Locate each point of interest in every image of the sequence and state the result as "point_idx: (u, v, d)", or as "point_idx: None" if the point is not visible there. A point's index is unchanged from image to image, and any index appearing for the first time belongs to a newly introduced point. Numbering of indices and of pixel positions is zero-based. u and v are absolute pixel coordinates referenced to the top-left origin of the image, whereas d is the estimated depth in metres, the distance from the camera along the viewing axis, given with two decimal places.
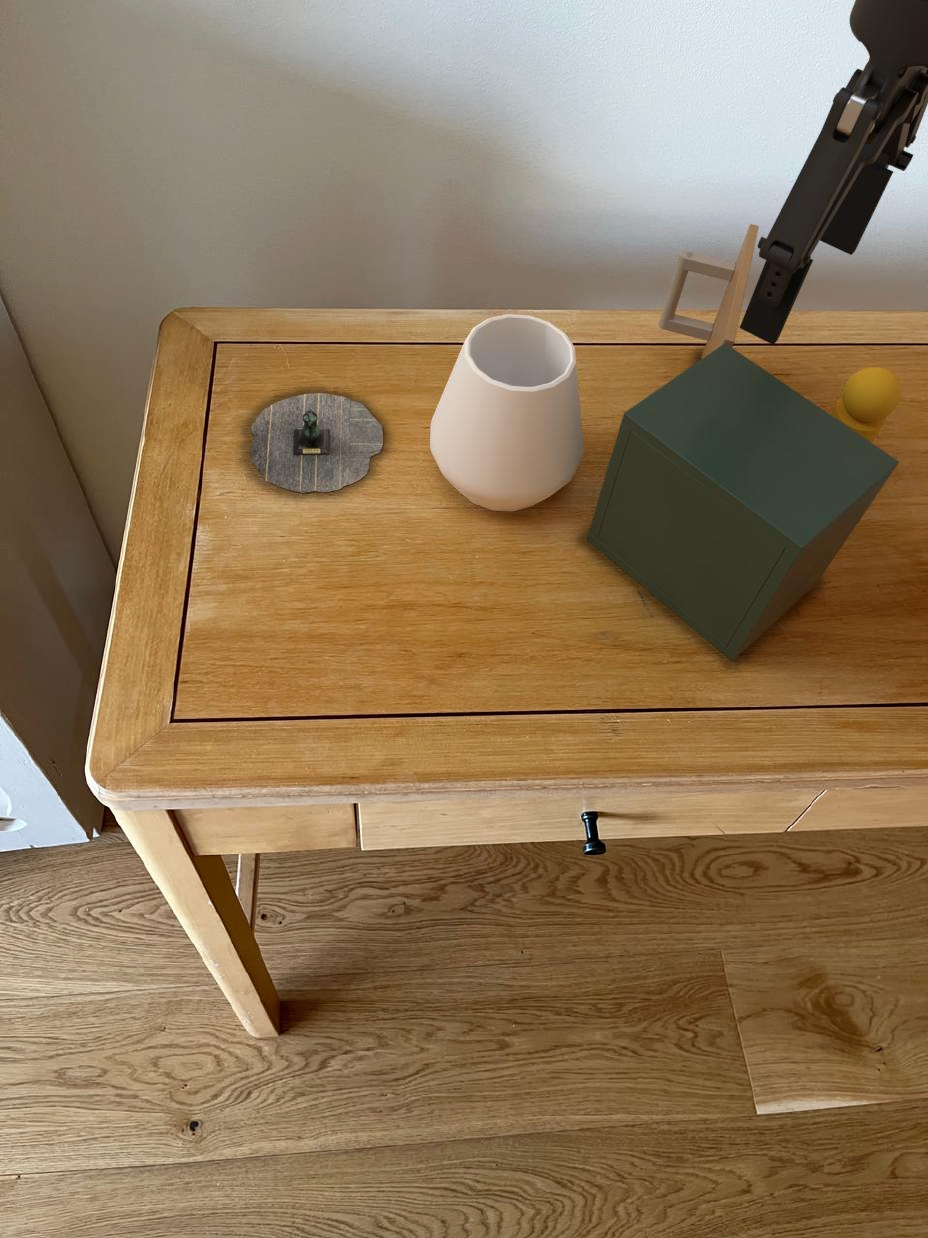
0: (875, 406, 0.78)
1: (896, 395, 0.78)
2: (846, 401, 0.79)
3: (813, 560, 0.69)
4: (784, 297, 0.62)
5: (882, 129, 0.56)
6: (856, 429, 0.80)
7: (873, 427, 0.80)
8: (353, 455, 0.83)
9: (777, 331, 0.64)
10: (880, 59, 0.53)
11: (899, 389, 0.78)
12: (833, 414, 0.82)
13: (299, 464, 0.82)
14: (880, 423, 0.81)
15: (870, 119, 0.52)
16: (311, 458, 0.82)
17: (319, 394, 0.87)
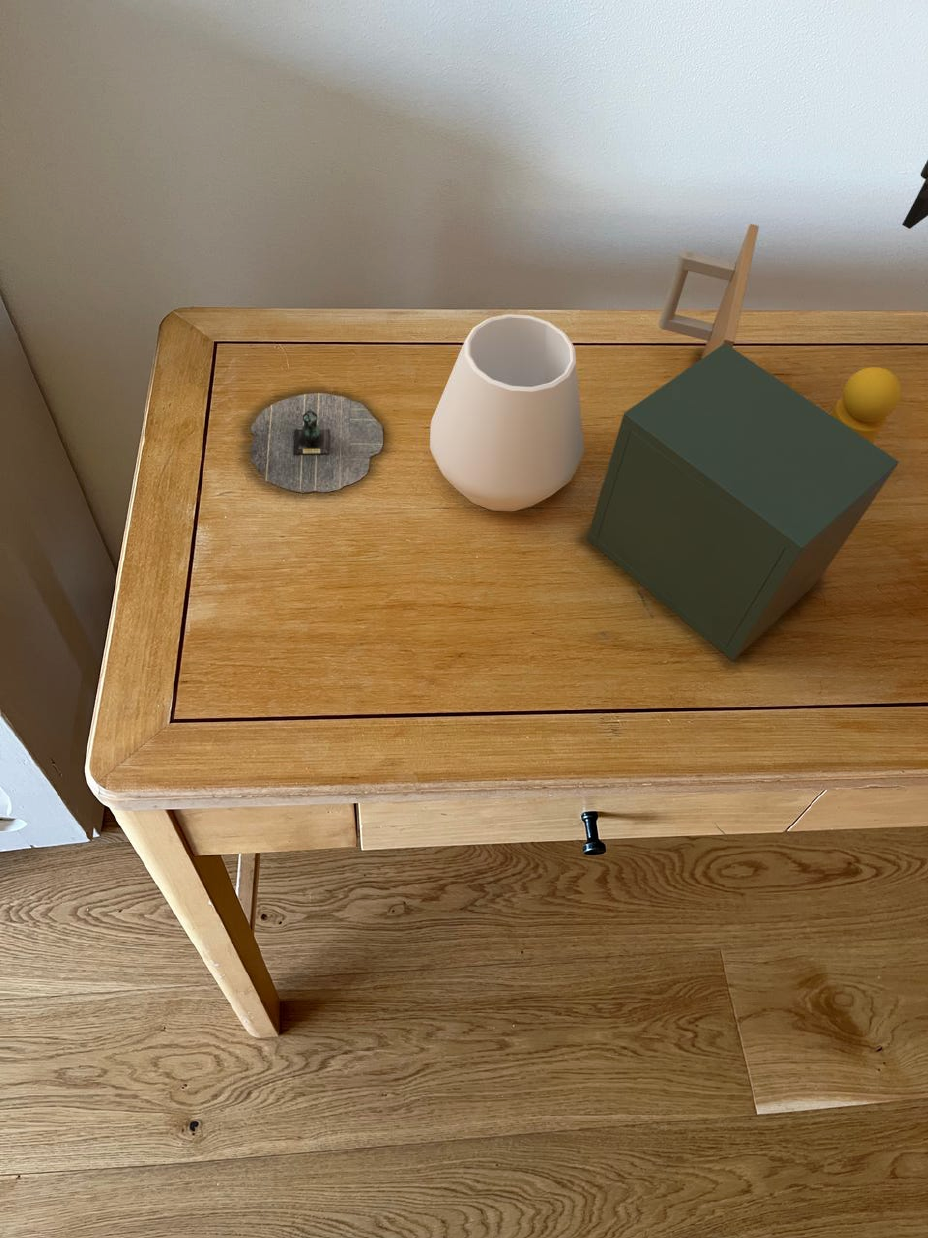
0: (875, 406, 0.78)
1: (896, 395, 0.78)
2: (846, 401, 0.79)
3: (813, 560, 0.69)
4: None
5: None
6: (856, 429, 0.80)
7: (873, 427, 0.80)
8: (353, 455, 0.83)
9: (923, 191, 0.77)
10: None
11: (899, 389, 0.78)
12: (833, 414, 0.82)
13: (299, 464, 0.82)
14: (880, 423, 0.81)
15: None
16: (311, 458, 0.82)
17: (319, 394, 0.87)
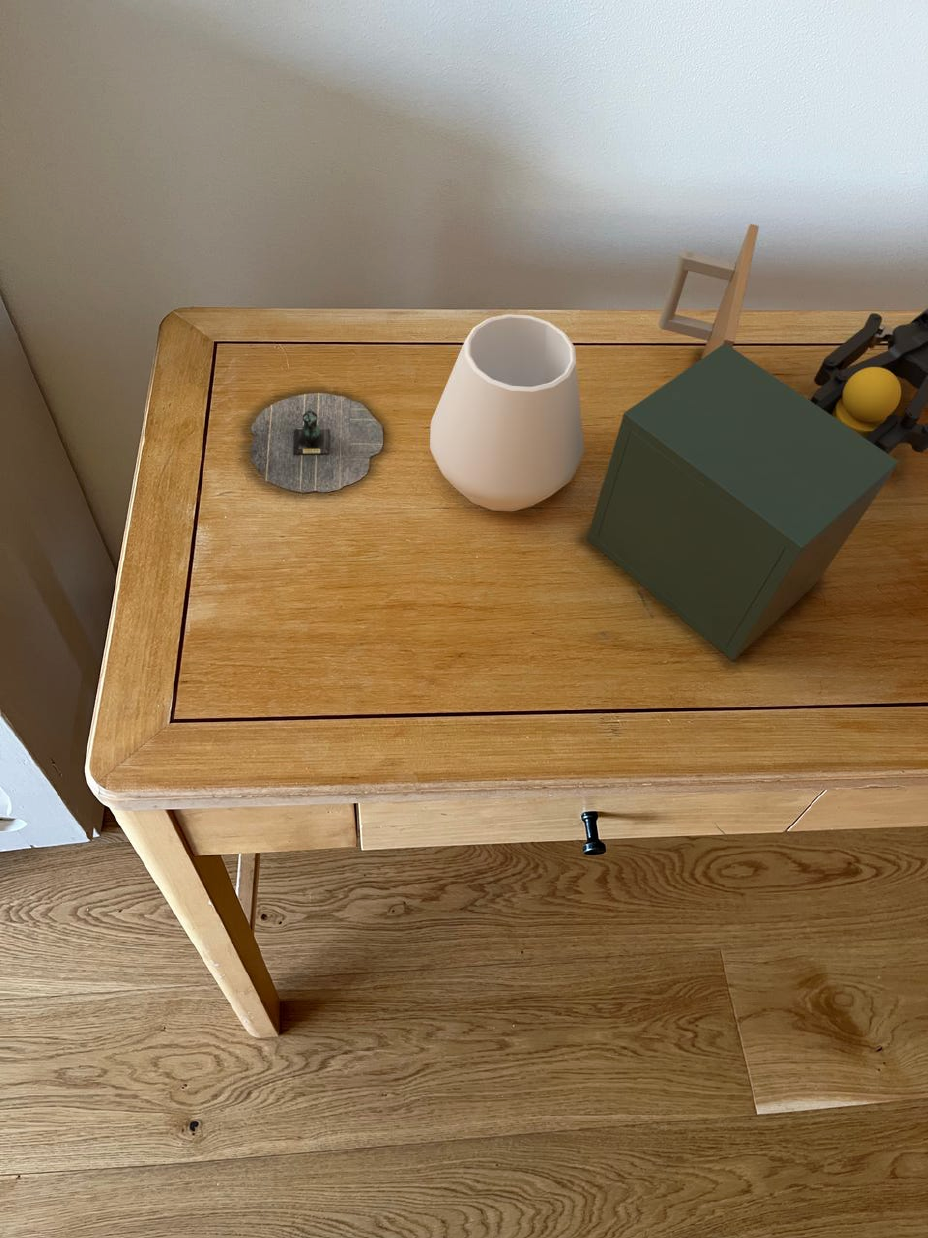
0: (875, 406, 0.78)
1: (896, 395, 0.78)
2: (845, 401, 0.79)
3: (813, 560, 0.69)
4: None
5: None
6: (856, 429, 0.80)
7: (873, 427, 0.80)
8: (353, 455, 0.83)
9: None
10: None
11: (899, 389, 0.78)
12: (833, 414, 0.82)
13: (299, 464, 0.82)
14: (880, 423, 0.81)
15: (869, 316, 0.87)
16: (311, 458, 0.82)
17: (319, 394, 0.87)
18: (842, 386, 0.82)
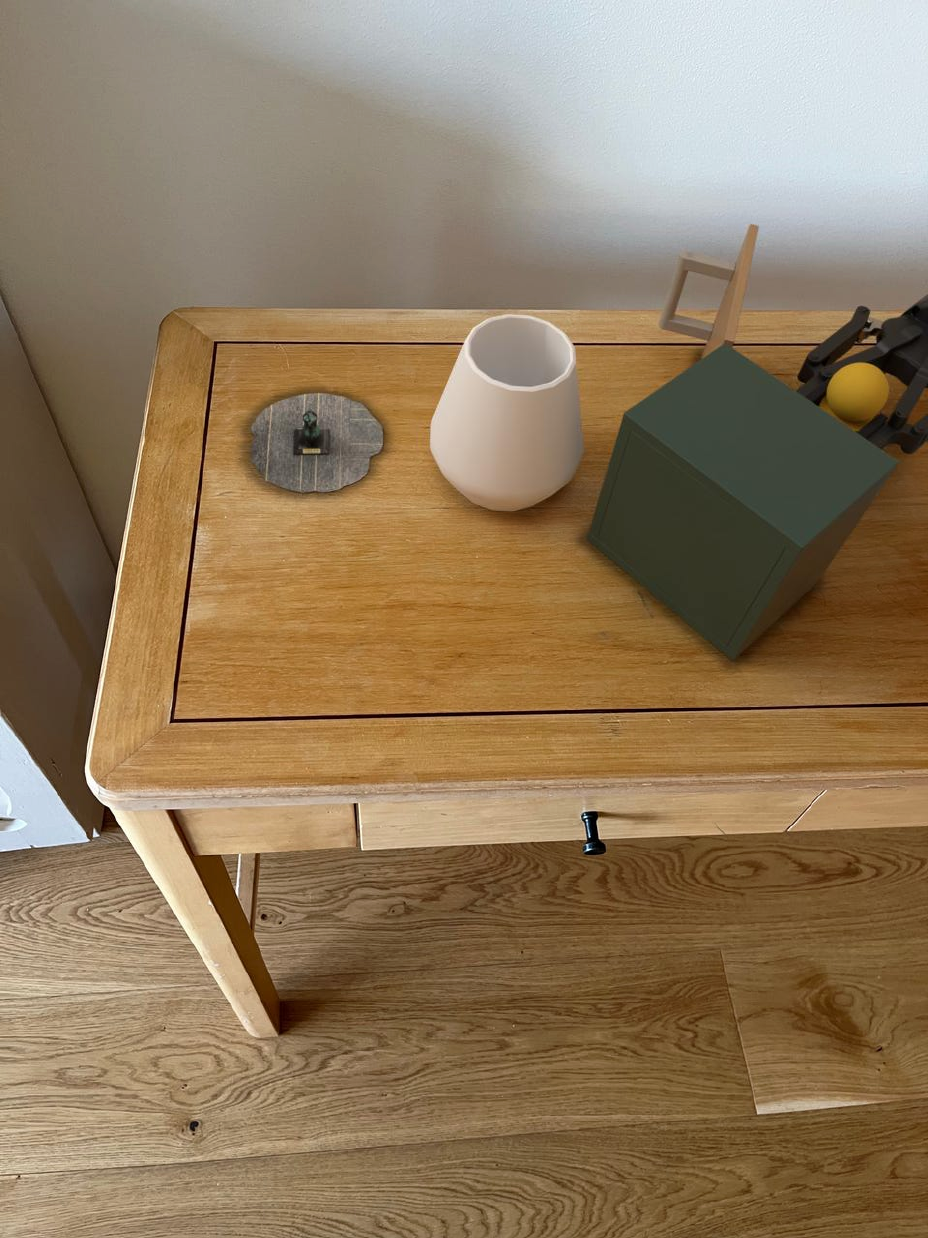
0: (861, 404, 0.73)
1: (883, 392, 0.72)
2: (829, 399, 0.74)
3: (813, 560, 0.69)
4: None
5: None
6: None
7: (858, 426, 0.75)
8: (353, 455, 0.83)
9: None
10: None
11: (886, 386, 0.73)
12: None
13: (299, 464, 0.82)
14: (866, 422, 0.76)
15: (856, 309, 0.82)
16: (311, 458, 0.82)
17: (319, 394, 0.87)
18: (826, 383, 0.76)
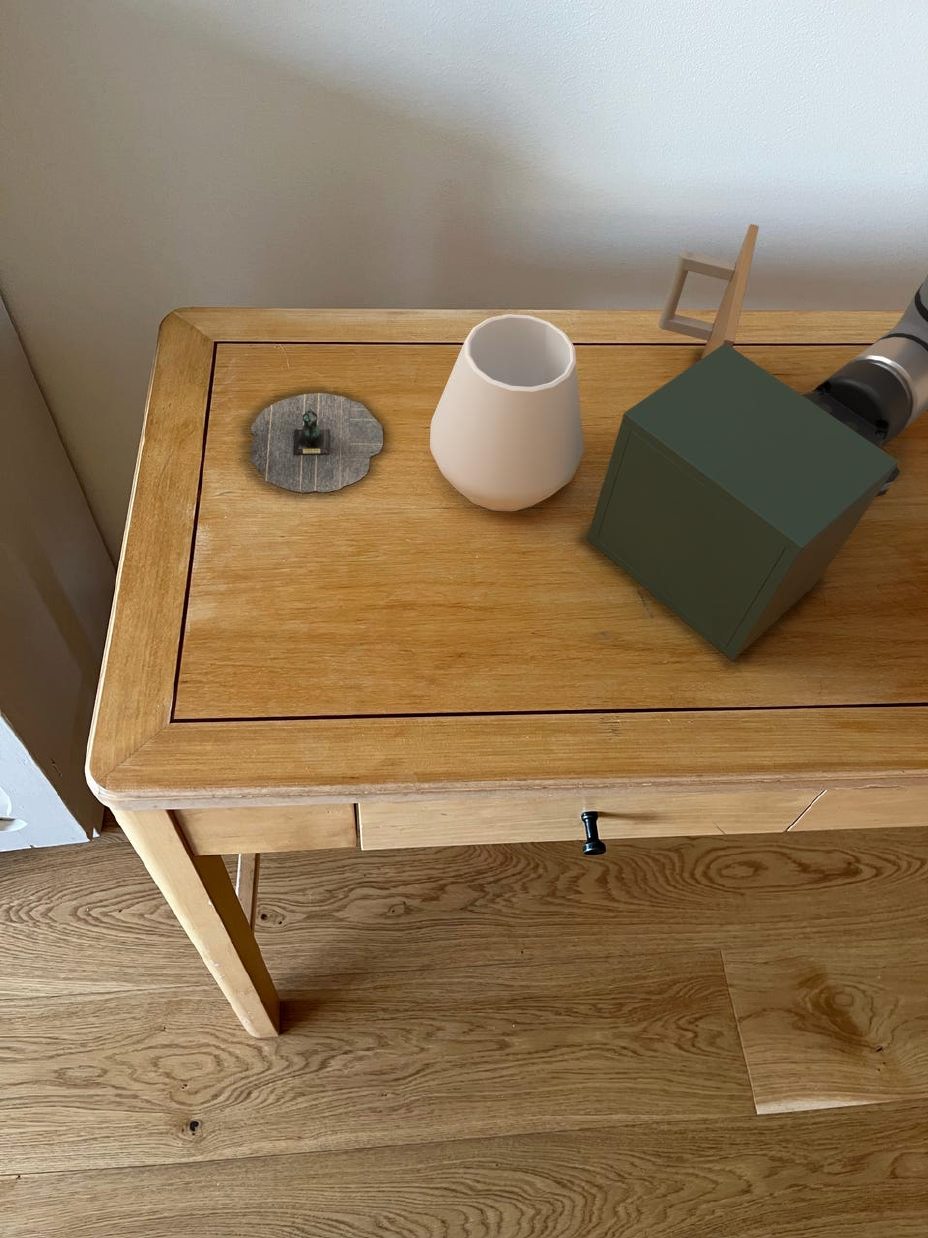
0: None
1: None
2: None
3: (813, 560, 0.69)
4: None
5: None
6: None
7: None
8: (353, 455, 0.83)
9: None
10: None
11: None
12: None
13: (299, 464, 0.82)
14: None
15: None
16: (311, 458, 0.82)
17: (319, 394, 0.87)
18: None
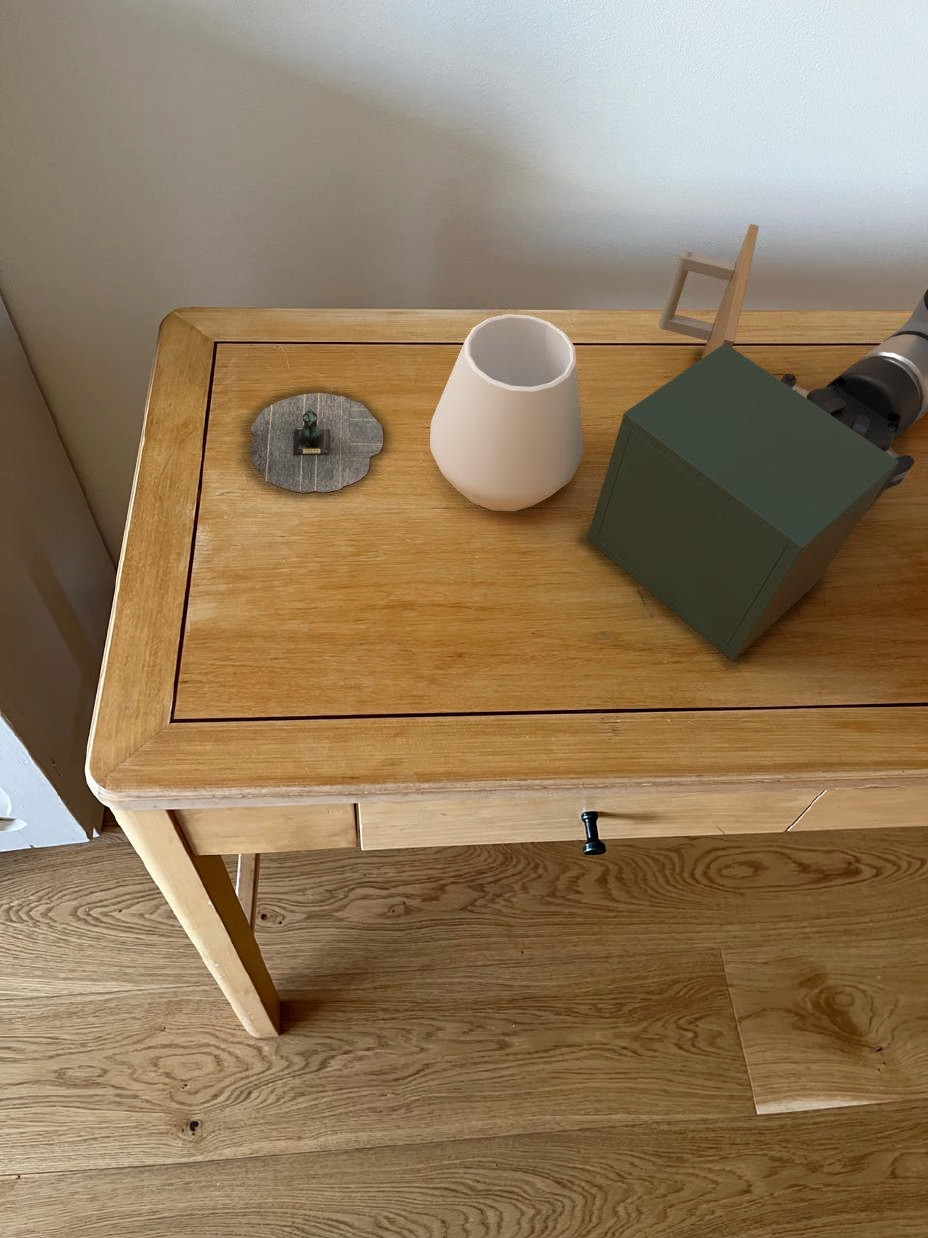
0: None
1: None
2: None
3: (813, 560, 0.69)
4: None
5: None
6: None
7: None
8: (353, 455, 0.83)
9: None
10: None
11: None
12: None
13: (299, 464, 0.82)
14: None
15: None
16: (311, 458, 0.82)
17: (319, 394, 0.87)
18: None
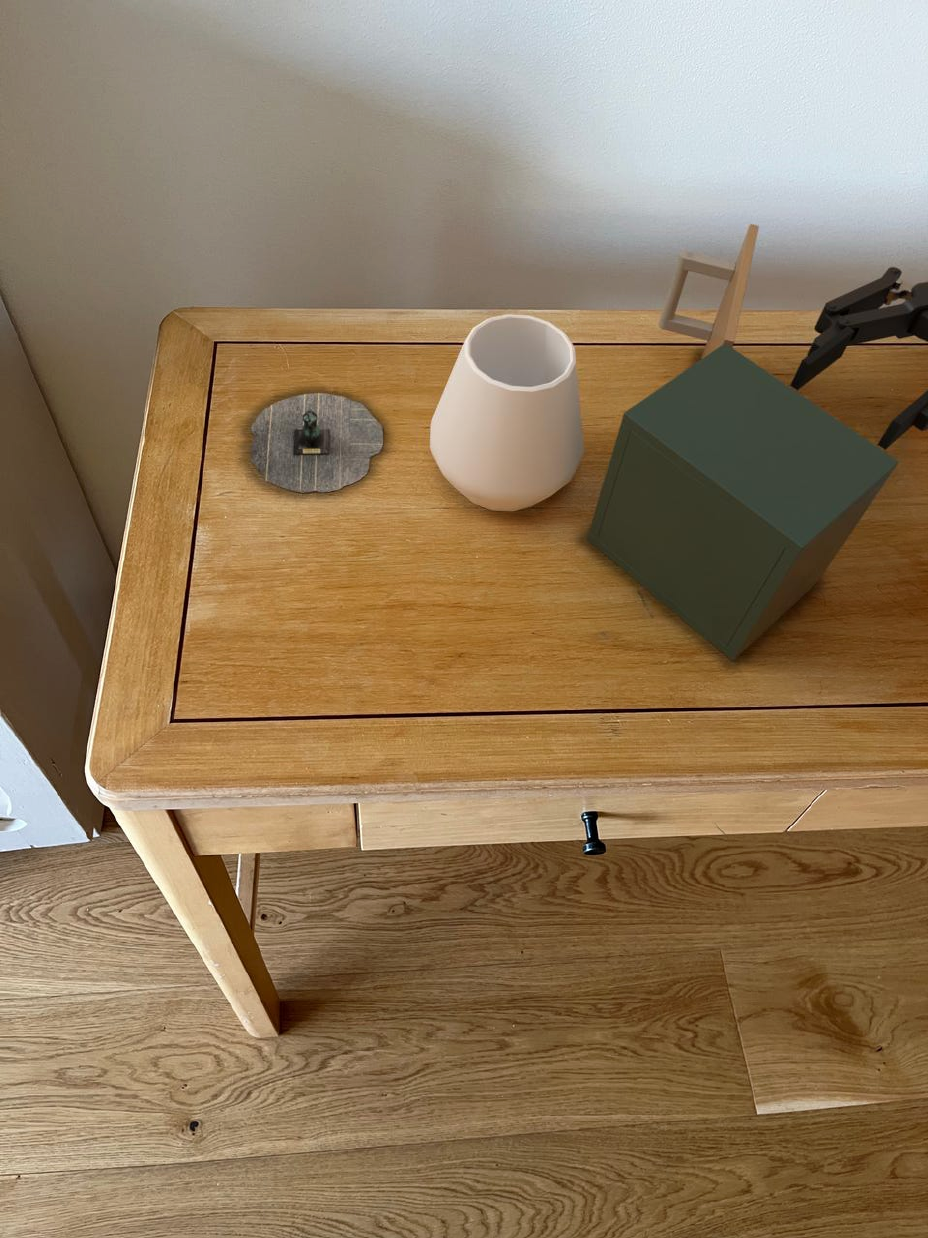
0: None
1: None
2: None
3: (813, 560, 0.69)
4: None
5: None
6: None
7: None
8: (353, 455, 0.83)
9: (809, 355, 0.74)
10: None
11: None
12: None
13: (299, 464, 0.82)
14: None
15: None
16: (311, 458, 0.82)
17: (319, 394, 0.87)
18: (845, 331, 0.76)
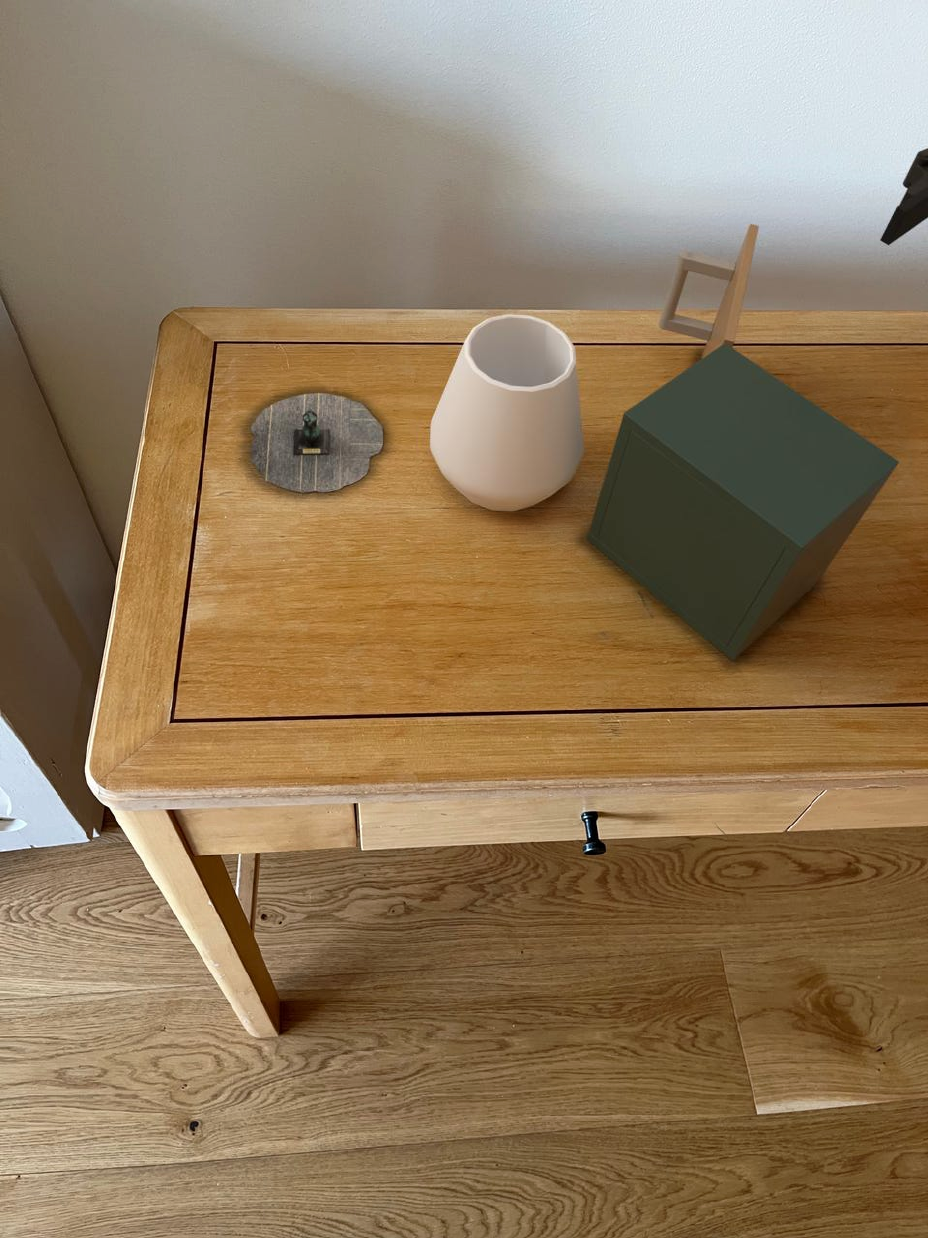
0: None
1: None
2: None
3: (813, 560, 0.69)
4: None
5: None
6: None
7: None
8: (353, 455, 0.83)
9: (904, 202, 0.66)
10: None
11: None
12: None
13: (299, 464, 0.82)
14: None
15: None
16: (311, 458, 0.82)
17: (319, 394, 0.87)
18: None
